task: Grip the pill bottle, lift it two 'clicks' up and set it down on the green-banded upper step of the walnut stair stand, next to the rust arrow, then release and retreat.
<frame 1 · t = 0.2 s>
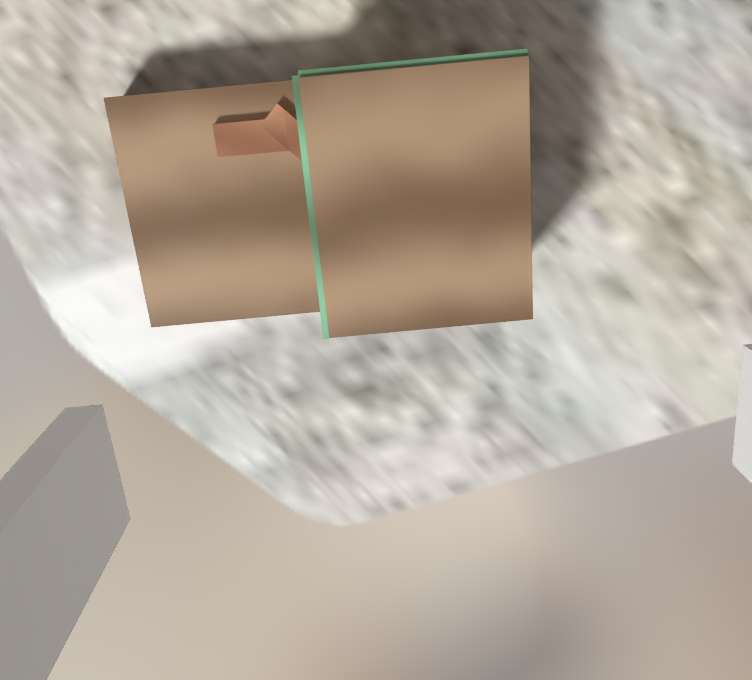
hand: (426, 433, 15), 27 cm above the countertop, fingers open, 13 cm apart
stand: (322, 192, 40), on the countertop
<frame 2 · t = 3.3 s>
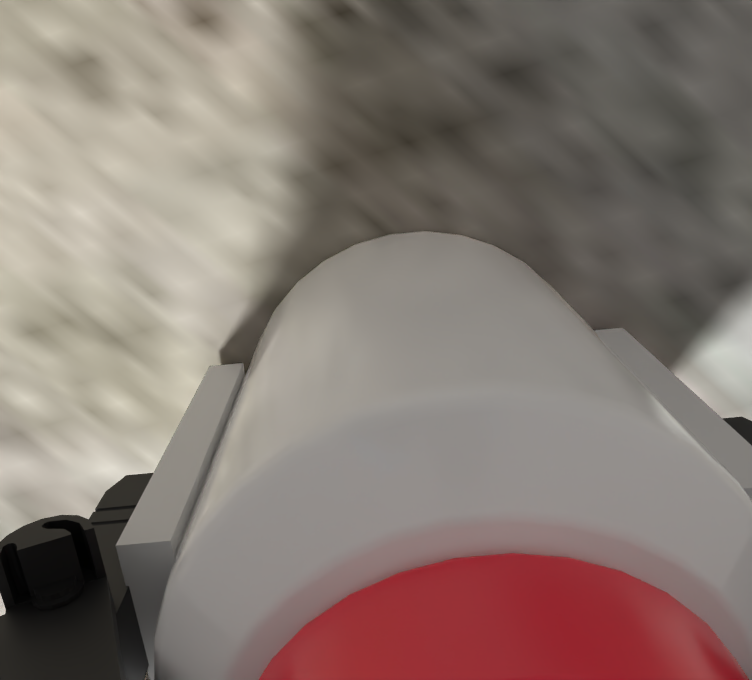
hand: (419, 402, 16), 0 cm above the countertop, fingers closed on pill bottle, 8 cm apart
pill bottle: (418, 392, 17), on the countertop, touching gripper
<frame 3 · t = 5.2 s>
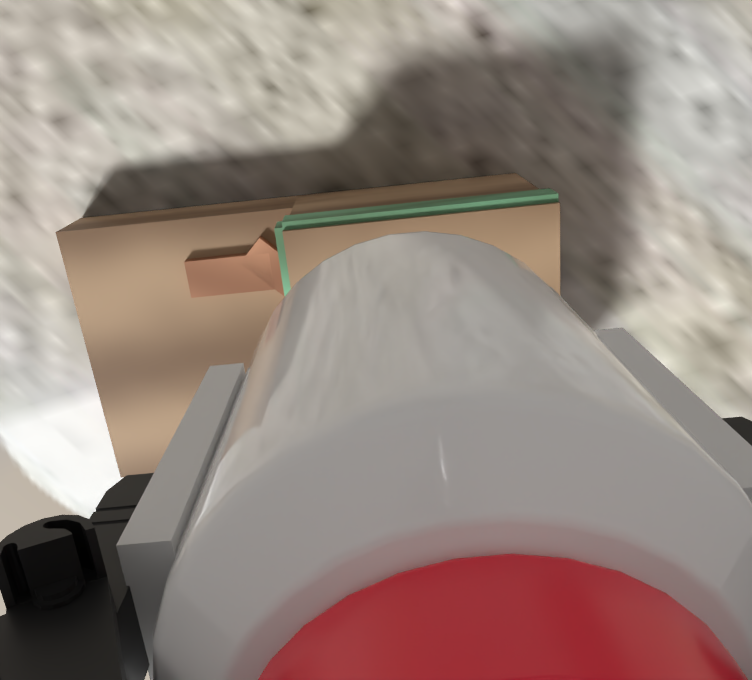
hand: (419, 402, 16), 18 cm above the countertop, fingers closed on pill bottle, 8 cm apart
stand: (314, 318, 35), on the countertop
pill bottle: (417, 393, 17), point 18 cm above the countertop, touching gripper
when the fingers open (10 cm above the countertop, at t = 7.3 s): pill bottle drops 2 cm, resting on stand.
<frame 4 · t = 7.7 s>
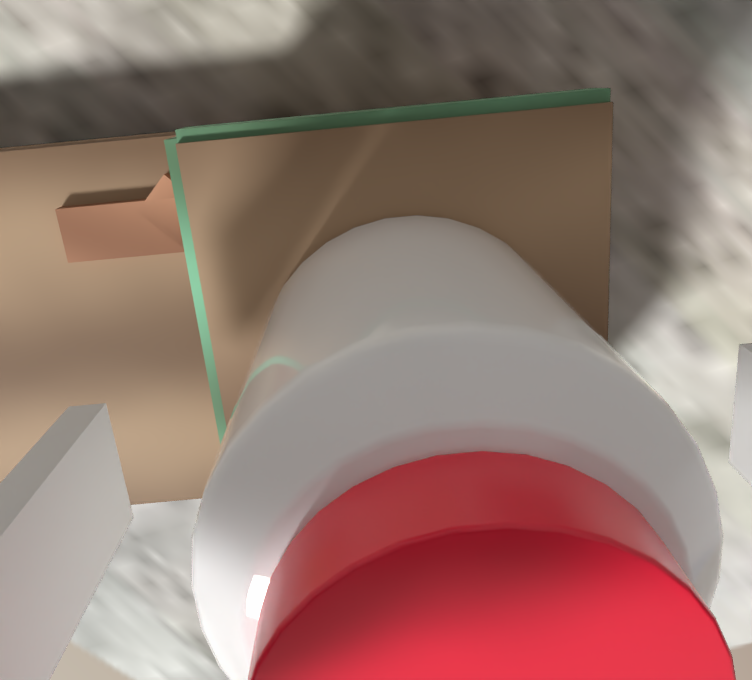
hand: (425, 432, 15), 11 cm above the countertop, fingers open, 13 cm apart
stand: (257, 300, 25), on the countertop
pill bottle: (412, 362, 18), point 7 cm above the countertop, touching stand
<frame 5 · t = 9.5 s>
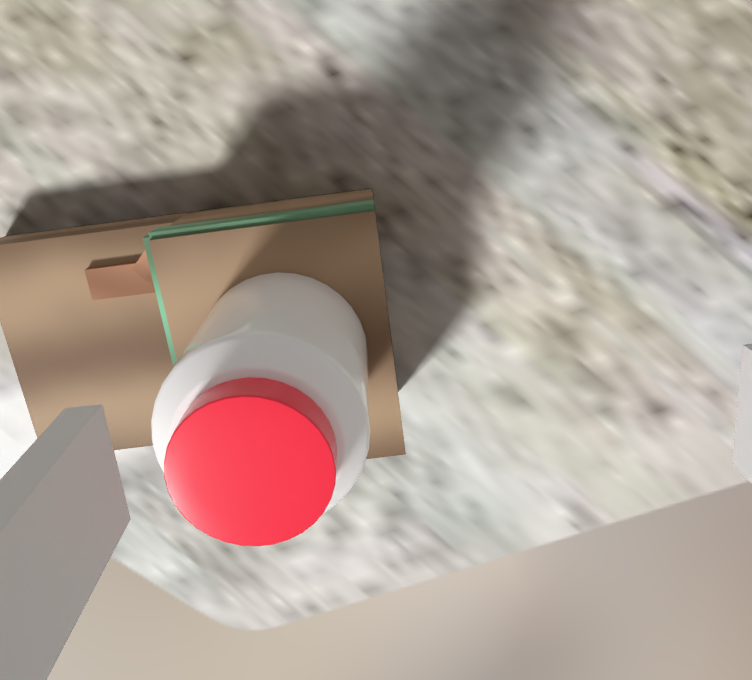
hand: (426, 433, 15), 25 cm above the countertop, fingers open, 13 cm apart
stand: (210, 318, 40), on the countertop
pill bottle: (284, 351, 33), point 7 cm above the countertop, touching stand
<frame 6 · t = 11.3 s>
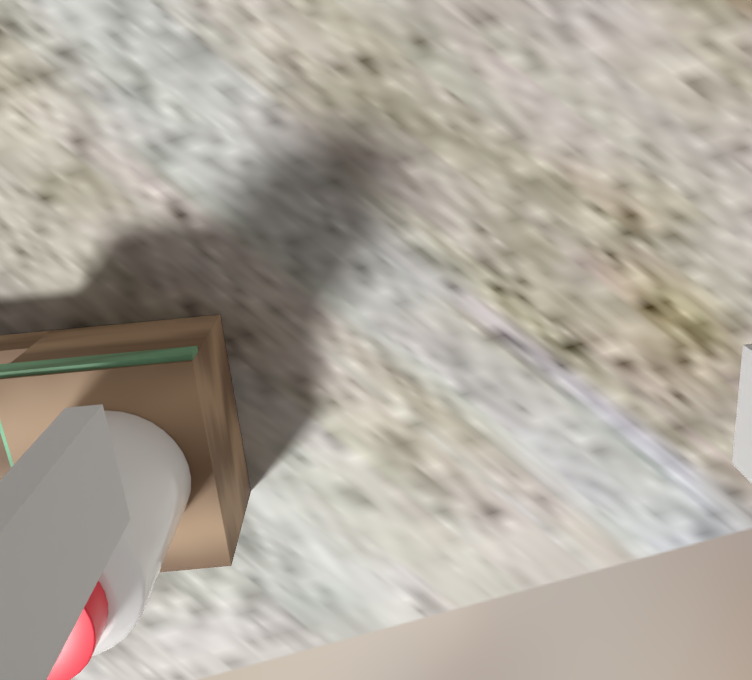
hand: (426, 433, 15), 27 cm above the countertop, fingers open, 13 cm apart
stand: (74, 422, 44), on the countertop
pill bottle: (117, 475, 37), point 7 cm above the countertop, touching stand
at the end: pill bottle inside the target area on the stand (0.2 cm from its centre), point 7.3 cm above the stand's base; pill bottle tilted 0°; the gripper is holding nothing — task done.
